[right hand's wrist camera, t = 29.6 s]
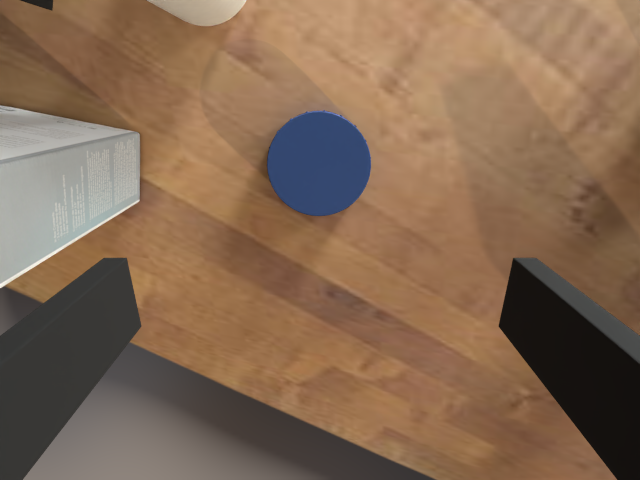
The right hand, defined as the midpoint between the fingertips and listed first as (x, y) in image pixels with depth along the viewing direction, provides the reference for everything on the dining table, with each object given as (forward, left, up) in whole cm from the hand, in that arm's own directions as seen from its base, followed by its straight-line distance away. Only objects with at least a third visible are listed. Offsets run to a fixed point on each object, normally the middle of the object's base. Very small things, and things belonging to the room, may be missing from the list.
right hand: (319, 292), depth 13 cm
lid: (0, 0, -24) cm, 25 cm away
